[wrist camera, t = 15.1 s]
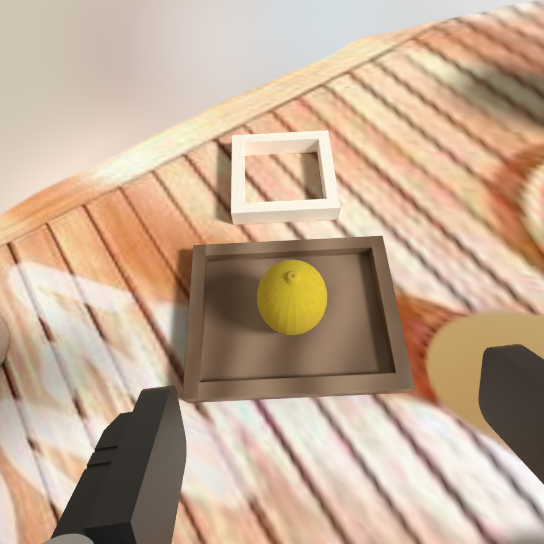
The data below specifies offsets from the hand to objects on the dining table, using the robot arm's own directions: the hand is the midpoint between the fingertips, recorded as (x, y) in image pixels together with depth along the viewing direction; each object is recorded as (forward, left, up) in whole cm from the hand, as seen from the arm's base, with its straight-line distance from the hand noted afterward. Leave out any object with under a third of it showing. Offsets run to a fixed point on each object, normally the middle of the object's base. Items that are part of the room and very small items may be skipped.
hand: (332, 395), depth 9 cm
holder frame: (0, +26, -22) cm, 34 cm away
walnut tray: (0, +10, -22) cm, 24 cm away
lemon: (0, +10, -21) cm, 23 cm away
